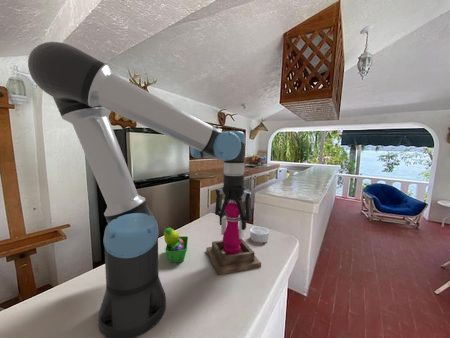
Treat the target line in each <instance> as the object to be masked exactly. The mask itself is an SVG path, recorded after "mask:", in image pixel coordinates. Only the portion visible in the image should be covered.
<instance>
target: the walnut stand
mask: <svg viewBox="0 0 450 338" xmlns="http://www.w3.org/2000/svg"><path fill="white" fill-rule="evenodd" d="M224 245H225V244H224V243H223V239H222V240H216V241H215V240H214V241H212V242H211V246H209V247H207V246H206V248H205V249H206V253H207V255H208V257H209V261H210V262H211V264H212V266H213V268H214V270H215V272H216V274H217V275H218V276H220V275H224V274H230V273H235V272H241V271H246V270H250V269H255V268H261V267H262V262H261V261H260V260H259V258H258V257H257V256H256V255H255V254H256V253H255V251H254V250H253V249H252V248H250V246H249V245H248V244H247V243H246V242H245V240H243V239H242V243H241V244H240V253H238V254H232V255H229V254H226V253H225V252H224Z"/></svg>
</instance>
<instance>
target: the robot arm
mask: <svg viewBox="0 0 450 338" xmlns="http://www.w3.org/2000/svg"><path fill="white" fill-rule="evenodd" d="M27 68H28V72H29V75H30V77H31V78H32V80H33V81H34V83H35V84H36V86H38V88H40V90H42V91H43V92H45V93H46V94H47V95H49V96H51V97H52V98H53V100H54V103H55V105H56V107H57V110H58V112H59V114H60V117H61V118H62V120H64V121H66V122H68V123H70V124H71V125H72V127H73V128H74V131H75V133H76V136H77V138H78V140H79V143H80V146H81V148H82V150H83V153H84V154H85V157H86V159H87V161H88V164H89V167H90V169H91V171H92V173H93V176H94V178H95V180H96V182H97V185H98V188H99V190H100V192H101V195H102V196H103V199H104V201H105V204H106V209H105V210H104V212H103V215H104V217H105V219H106V222H107V225H106V226H105V229H104V235H103V240H102V241H103V247H104V261H105V262H104V265H105V287H106V288H105V293H104V296H103V299H102V302H101V305H100V308H99V311H98V317H97V318H98V320H97V321H98V330H99V332H100V333H101V334H102V335H103V336H104V337H106V338H135V337H138V336H140V335H142V334H144V333H146V332H147V331H149V330H151V329H152V328H153V327H154V326H156V324H158V322H159V321H160V320H161V319H162V318H163V316H164V314H165V311H166V307H167V296H166V292H165V290H164V287H163V284H162V282H161V278H160V277H159V233H160V232H159V231H160V229H159V226H158V221H157V220H156V218H155V216H154V214H153V212H152V211H151V210H150V207H149V204H148V202H147V200H146V197H144V196H142V195H140V194H138V191H137V188H136V185H135V183H134V180H133V178H132V175H131V172H130V170H129V167H128V165H127V163H126V160H125V157H124V154H123V152H122V149H121V146H120V144H119V142H118V139H117V136H116V134H115V130H114V128H113V126H112V124H111V121H110V119H109V116H110V114H111V113H115V114H118V115H120V116H122V117H124V118H127V119H129V120H131V121H133V122H135V123H138V124H139V125H142V126H143V127H144V126H145V127H147V128H148V129H151V130H153V131H155V132H158V133H159V134H162V135H164V136H166V137H169V138H171V139H173V140H176V141H178V142H179V143H182V144H184V145H187V146H188V147H189V151H190V155H191V156H192V157H193V158H194V159H211V160H217V161H218V160H220V161H221V162H223V174H224V175H223V183H222V185H223V186H222V188H217V189H215V195H216V198H215V209H214V215H215V216H218V218H219V225H220V227H221V230H220V233H221V234H220V235H221V236H223V235H224V233H225V231H226V228H227V220H226V215H227V214H226V213H225V207H226V205H227V204H228V203H230V202H231V200H235V201H236V202H235V203H237V206H238V210H239V213H240V214H239V216H240V217H239V218H240V220H239V221H238V227H239V239H242V240H243V238H244V234H245V233H244V231H245V230H246V229H247V221H250V220H251V219H252V218H253V217H252V216H253V215H252V201H251V200H252V199H251V198H252V195H253V193H252V192H251V191H249V192H248V191H246V189H245V187H244V186H245V176H244V174H245V157H246V156H245V154H246V152H245V151H246V135H245V132H243V131H240V130H227V131H226V130H224V131H222V130H220V129H219V128H217V127H215V126H213V125H211V124H209V123H207V122H205V121H203V120H201V119H199V118H198V117H195V116H194V115H192V114H190V113H189V112H186V111H185V110H182V109H181V108H180V107H177V106H175V105H173V104H171V103H169V101H165V100H164V99H162V98H160V97H158V96H156V95H154V94H152V93H151V92H149V91H147V90H146V89H143V88H141V87H140V86H137V85H136V84H134V83H131V82H130V81H127V80H126V79H125V78H122V77H120V76H118V75H117V74H115V73H113V71H112V70H111V67H110V66H109V65H108V64H106V63H104V62H103V61H100V59H99V60H98V59H97V58H95V57H93V56H91V55H90V54H88V53H86V52H84V51H82V50H81V49H78V48H77V47H75V46H73V45H70V44H68V43H64V42H59V41H47V42H43V43H41V44H38V45H37V46H36V47H34V48H33V49H32V50H31V51H30V54H29V55H28V59H27ZM223 194H224V195H225V196H224V198H223ZM243 196H244V198H245V199H244V202H245V203H243ZM244 204H245V205H244Z"/></svg>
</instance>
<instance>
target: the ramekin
mask: <svg viewBox="0 0 450 338" xmlns="http://www.w3.org/2000/svg"><path fill="white" fill-rule="evenodd" d="M249 232H250V239H251V241H253V242H254V243H258V242H259V244H261V243H263V242H264V243H266V242H268V240H269V233H270V230H269V229H268V228H267V227H264V226H252V227H251V228H250V229H249Z"/></svg>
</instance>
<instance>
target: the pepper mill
mask: <svg viewBox="0 0 450 338" xmlns="http://www.w3.org/2000/svg"><path fill="white" fill-rule="evenodd" d="M225 214H226V215H225V216H226V220H227V222H226V231H225V233H224V235H222V240H223V243H224V244H225V245H224V252H225V253H226V254H229V255H232V254H238V253H240V244H241V243H242V240H243V238H242V239H239V221H240V220H241V217H240V213H239V210H238V206H237V203H236V201H235V200H230V202H229V203H228V204H227V205H226V207H225Z"/></svg>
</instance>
